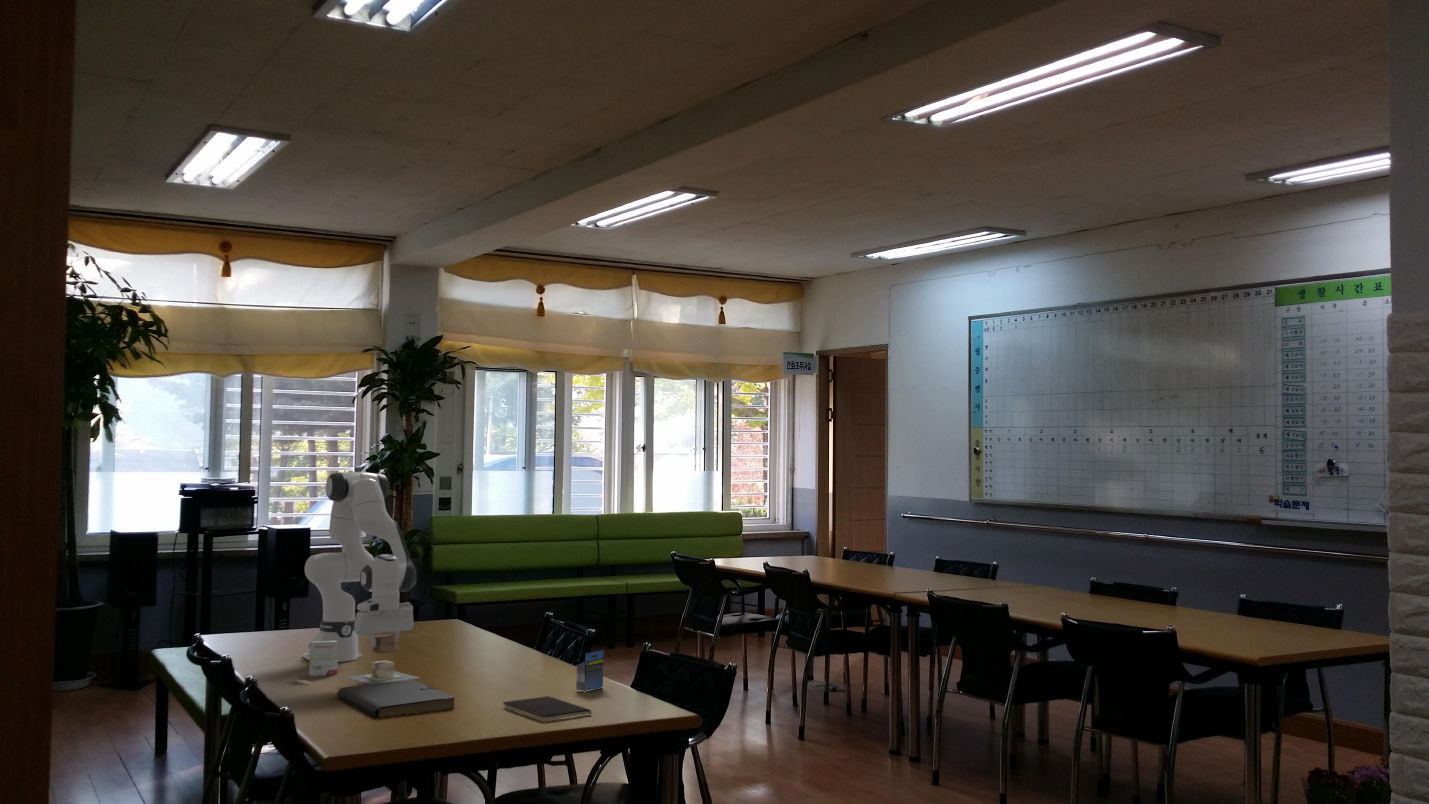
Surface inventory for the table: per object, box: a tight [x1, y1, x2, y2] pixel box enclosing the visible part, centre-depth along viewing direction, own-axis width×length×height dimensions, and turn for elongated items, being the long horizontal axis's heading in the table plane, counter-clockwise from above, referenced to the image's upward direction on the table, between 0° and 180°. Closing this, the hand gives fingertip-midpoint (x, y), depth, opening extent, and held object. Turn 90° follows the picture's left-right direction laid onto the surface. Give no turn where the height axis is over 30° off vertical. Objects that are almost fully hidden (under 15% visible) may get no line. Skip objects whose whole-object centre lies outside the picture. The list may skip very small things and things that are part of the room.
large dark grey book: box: [336, 679, 456, 719], centre depth 324 cm, size 33×4×24 cm
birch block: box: [371, 660, 395, 679], centre depth 358 cm, size 5×5×5 cm
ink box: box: [308, 640, 339, 677], centre depth 363 cm, size 9×5×12 cm, turn 116°
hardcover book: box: [502, 695, 592, 723], centre depth 315 cm, size 16×23×2 cm
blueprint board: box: [344, 670, 421, 685], centre depth 358 cm, size 18×18×1 cm
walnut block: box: [372, 634, 396, 655], centre depth 359 cm, size 5×5×5 cm
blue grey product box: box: [575, 649, 604, 691], centre depth 348 cm, size 9×4×12 cm, turn 145°
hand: (383, 646), depth 359 cm, fingers closed on walnut block, 5 cm apart
